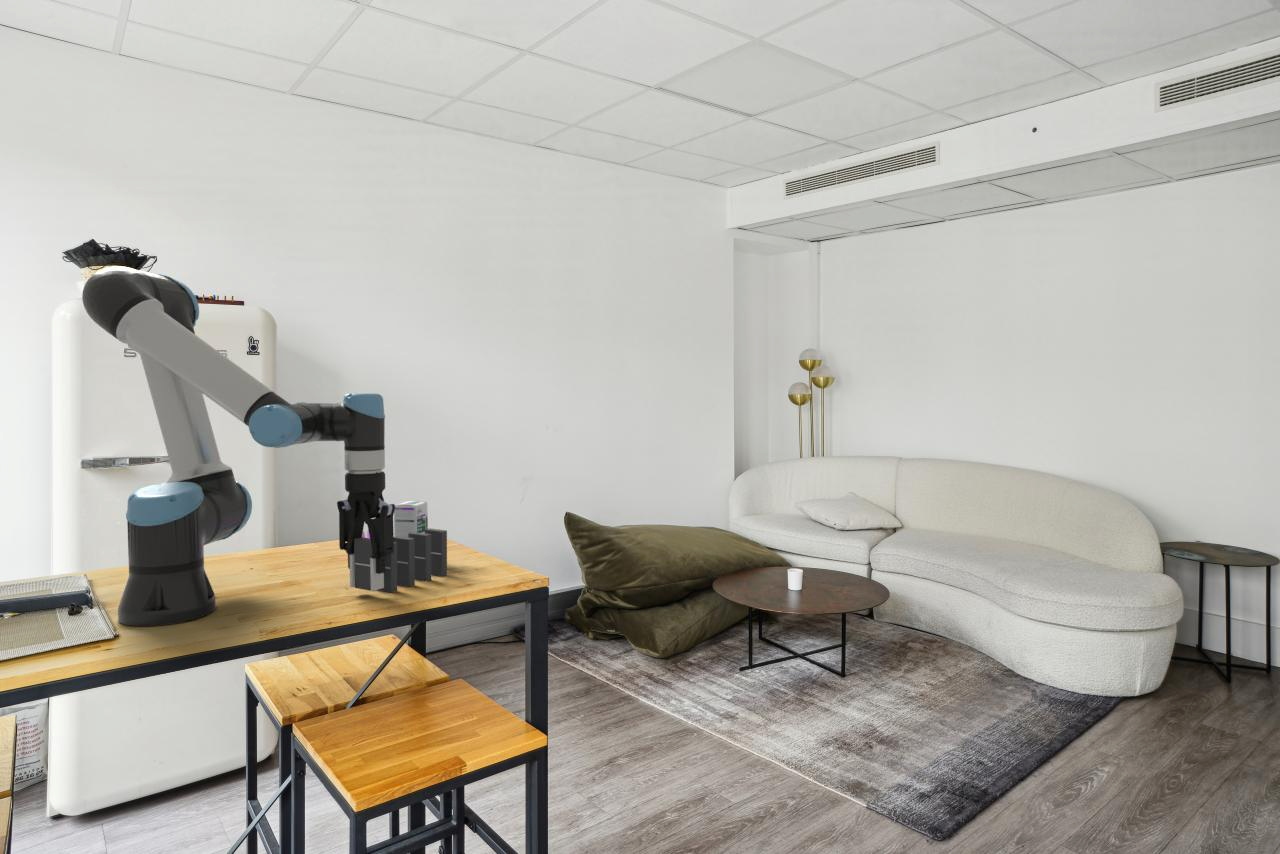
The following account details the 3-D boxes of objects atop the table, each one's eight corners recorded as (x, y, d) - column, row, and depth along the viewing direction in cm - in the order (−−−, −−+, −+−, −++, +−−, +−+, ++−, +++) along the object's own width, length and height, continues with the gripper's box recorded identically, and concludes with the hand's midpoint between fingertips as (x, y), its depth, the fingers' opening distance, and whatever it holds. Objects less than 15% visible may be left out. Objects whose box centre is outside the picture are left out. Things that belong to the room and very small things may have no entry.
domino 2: (373, 589, 157) (372, 541, 156) (379, 587, 159) (379, 540, 158) (391, 592, 155) (390, 544, 154) (397, 590, 156) (397, 542, 156)
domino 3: (391, 584, 161) (390, 537, 161) (397, 582, 163) (396, 535, 162) (409, 587, 159) (408, 539, 159) (414, 585, 161) (414, 538, 160)
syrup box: (417, 567, 176) (416, 505, 176) (393, 565, 178) (393, 503, 177) (428, 561, 182) (428, 501, 181) (406, 560, 183) (405, 500, 182)
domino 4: (408, 578, 166) (408, 533, 165) (414, 577, 167) (413, 532, 167) (425, 581, 164) (425, 535, 163) (431, 580, 165) (431, 534, 165)
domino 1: (354, 588, 152) (353, 538, 152) (361, 586, 154) (360, 537, 153) (372, 591, 150) (372, 540, 150) (379, 589, 152) (378, 539, 151)
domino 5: (424, 573, 170) (424, 529, 170) (430, 572, 172) (429, 528, 171) (441, 576, 168) (441, 531, 168) (447, 575, 170) (447, 530, 169)
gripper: (413, 471, 150) (414, 588, 151) (347, 467, 158) (349, 577, 160) (384, 475, 143) (386, 597, 145) (317, 470, 152) (319, 586, 153)
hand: (366, 587), depth 152 cm, fingers closed on domino 1, 5 cm apart
